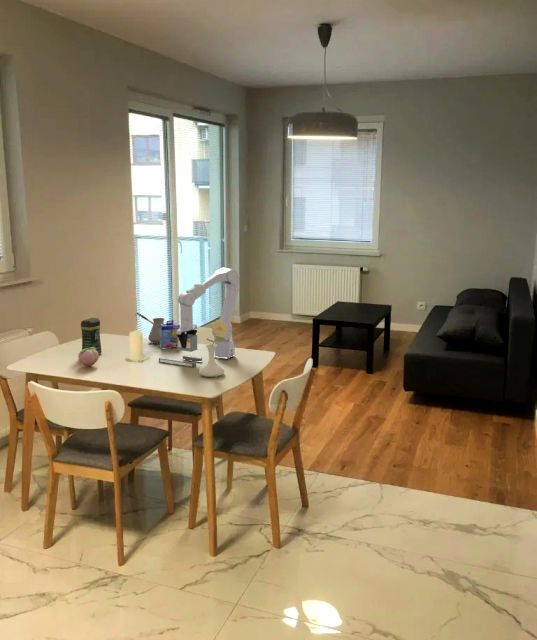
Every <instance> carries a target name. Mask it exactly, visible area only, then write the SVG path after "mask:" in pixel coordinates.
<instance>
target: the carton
mask: <svg viewBox="0 0 537 640" xmlns="http://www.w3.org/2000/svg"><path fill="white" fill-rule="evenodd" d="M176 349H177V351H184V352H191V353H192V352H194V351H197V350H198V335H197V334H196V335H192V334H189V335H188V337H187V344H186V348H182V347H181V343H180V340H179V338H178V336H177V348H176Z"/></svg>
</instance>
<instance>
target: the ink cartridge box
mask: <svg viewBox="0 0 537 640" xmlns="http://www.w3.org/2000/svg"><path fill="white" fill-rule="evenodd" d="M159 326H160V344H159V347H160V348H161V349H162V348H167V349H172V348H171V347H177V335H176V330H178V329H179V328H180V327H181V324H180V323H178V322H174V320H167V321H166V323H164V324H160V325H159Z"/></svg>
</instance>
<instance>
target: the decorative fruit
mask: <svg viewBox="0 0 537 640" xmlns="http://www.w3.org/2000/svg"><path fill="white" fill-rule="evenodd" d="M95 349H97V348H95V347H90V348H86V349H83V350H82V349H81V350H80V351H79V352H78V354H77V355H78V356H77V357H78V361H79V362H80V364H81V365H83V366H85V367H87V368H91V367H92V366H93V365H95V364H96V363H97V362H98V360H99V357H100V354H98V352H97V351H96V350H95Z"/></svg>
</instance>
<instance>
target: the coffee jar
mask: <svg viewBox="0 0 537 640" xmlns="http://www.w3.org/2000/svg"><path fill="white" fill-rule="evenodd" d="M80 329H81V350H83V349H86V348H90V347H95V348H97V349H95V350H96V351H97V352H98V354H99V355H101V354H102V346H101V334H100V333H101V320H100V319H99V318H98V317H90V318H87V319H83V320H82V321H81V322H80Z"/></svg>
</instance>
